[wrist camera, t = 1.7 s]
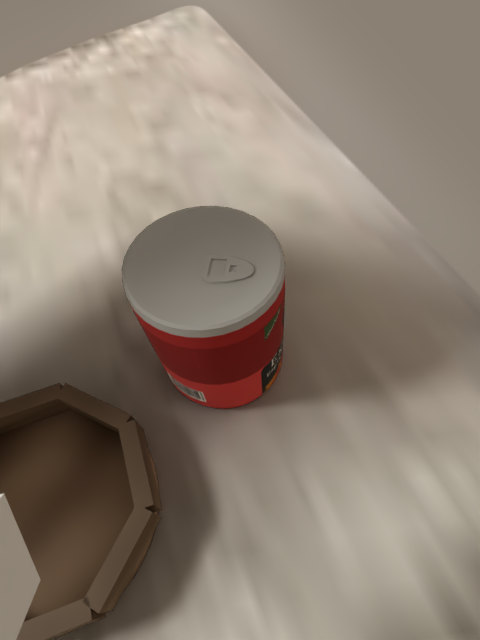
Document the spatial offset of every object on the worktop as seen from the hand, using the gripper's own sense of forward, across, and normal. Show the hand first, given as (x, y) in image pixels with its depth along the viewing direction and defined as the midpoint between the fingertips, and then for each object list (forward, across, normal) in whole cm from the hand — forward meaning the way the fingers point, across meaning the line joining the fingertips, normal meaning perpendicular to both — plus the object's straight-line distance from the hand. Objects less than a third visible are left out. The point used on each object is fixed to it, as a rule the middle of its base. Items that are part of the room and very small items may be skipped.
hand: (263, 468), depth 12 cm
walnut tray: (+14, -12, -8) cm, 20 cm away
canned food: (+19, 0, -3) cm, 19 cm away
